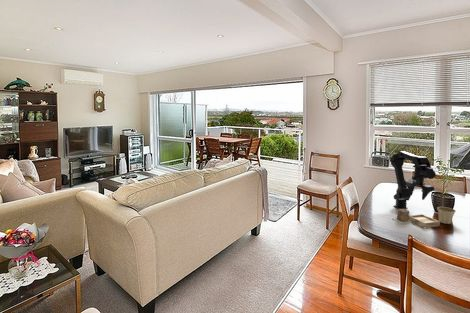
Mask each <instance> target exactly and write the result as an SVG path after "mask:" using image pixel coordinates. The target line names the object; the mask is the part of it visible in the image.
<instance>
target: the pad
mask: <svg viewBox="0 0 470 313" xmlns="http://www.w3.org/2000/svg"><path fill="white" fill-rule="evenodd" d="M392 220H394V221H395V222H398V223H400V224H401V225H405V224H406V225H407V224H414V223H413V222H411V221H409V220H408V221H407V222H401V221H399V220H397V217H394V218H392Z"/></svg>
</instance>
